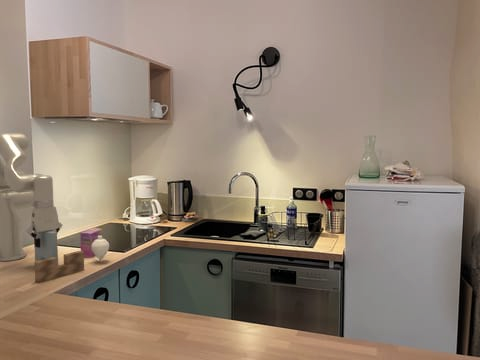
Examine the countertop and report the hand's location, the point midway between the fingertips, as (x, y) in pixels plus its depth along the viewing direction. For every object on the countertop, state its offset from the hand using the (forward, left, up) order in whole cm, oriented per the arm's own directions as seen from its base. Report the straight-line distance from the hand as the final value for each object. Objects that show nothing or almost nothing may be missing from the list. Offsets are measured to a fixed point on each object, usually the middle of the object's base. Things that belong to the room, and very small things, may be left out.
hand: (45, 245), depth 182 cm
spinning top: (+22, +4, -10) cm, 24 cm away
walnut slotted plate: (+9, -13, -10) cm, 18 cm away
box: (+16, +17, -10) cm, 25 cm away
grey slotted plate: (0, 0, -10) cm, 10 cm away
